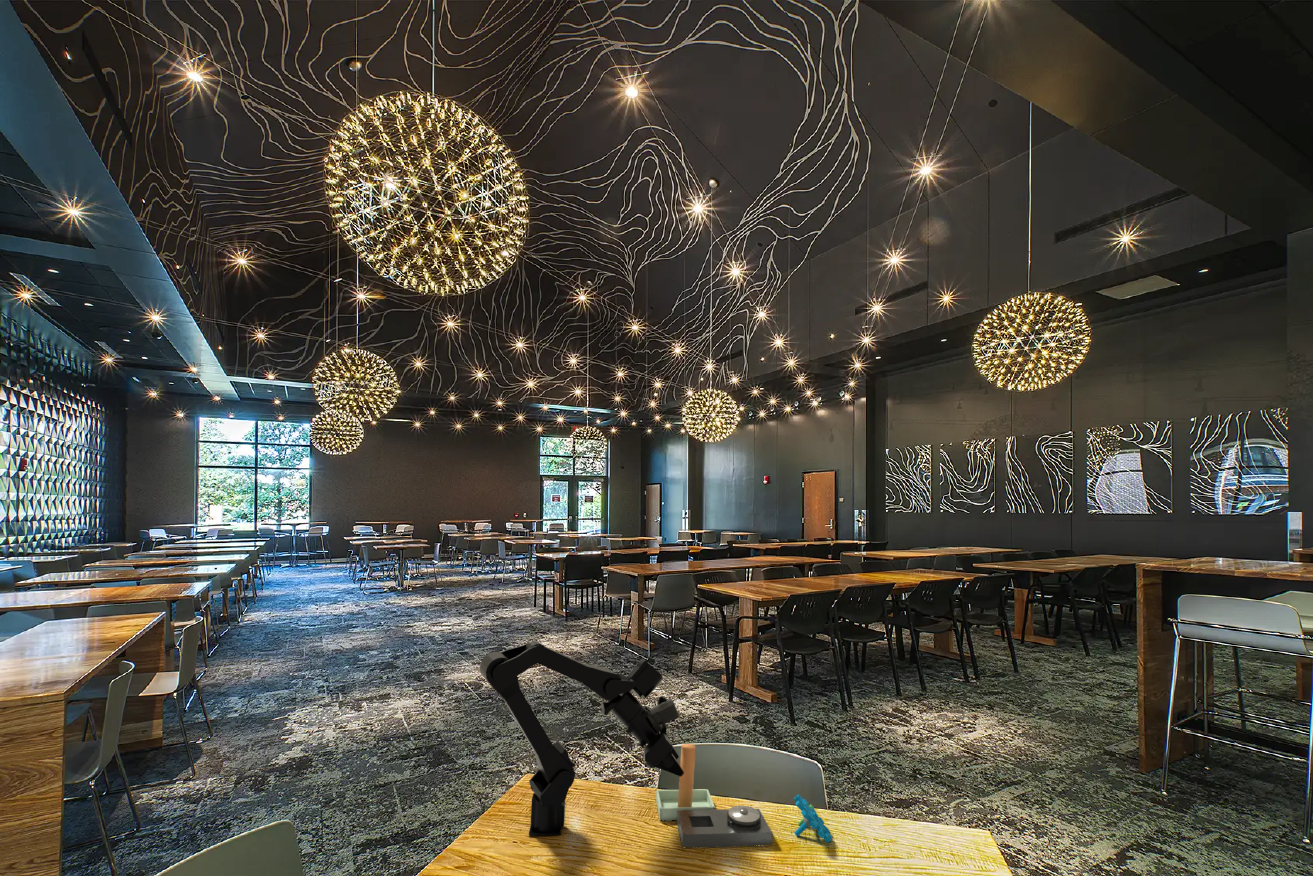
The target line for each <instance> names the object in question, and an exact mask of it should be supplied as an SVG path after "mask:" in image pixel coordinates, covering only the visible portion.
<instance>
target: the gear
mask: <svg viewBox="0 0 1313 876" xmlns="http://www.w3.org/2000/svg"><path fill="white" fill-rule="evenodd" d="M793 800H794V801H795V806H796V808H798V809H799V810H800V813H801V815H802V817H803V818H801V819H800V821H799V822H798V823H797V825H798V826H799V827H798V828H797V829H796V830H795V831H794V832H793V833H794V835H795V836H796V837H797V838H798V837H799V836H800V835H802V834H803V832H804V831H806V830H807V828H811V829H812V830H817V835H818V836H819V837H820V838H821V839H823V840H824V841H825V842H826V843H830V842H831V841H832V839H833V836H832V835H831V834H830V833H831V831H830V829H829V828H828V827H827V826H826V825H825V821H824V820H823V818H822V817H820V816H819V815H818V813H817V811H816V809H815V806H814V805H813V804H811V803H810V804H809V801H807V799H805V798H803V797H802V795H800V794H799V793H798V794H797V795H796V796H794V797H793Z"/></svg>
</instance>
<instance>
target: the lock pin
mask: <svg viewBox="0 0 1313 876" xmlns="http://www.w3.org/2000/svg"><path fill="white" fill-rule="evenodd" d="M680 747H681V749H680V763H679V765H680V767H681V768H682V770H683V771H684V774H683V775H682V776H681V777H680V776H678V777H679V780H678V790H679V792H678V807H692V797H693V789H694V781H695V780H694V778H695V763H696V748H697V747H696V746H695V745H694V744H692V743H691V744H690V743H683V744H682V745H681V746H680Z"/></svg>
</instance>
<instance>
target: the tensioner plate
mask: <svg viewBox="0 0 1313 876" xmlns="http://www.w3.org/2000/svg"><path fill="white" fill-rule="evenodd" d="M676 825H677V826H678V827H677V831H678V830H679V831H678V834H680V835H679V839H680V838H681V839H680V842H682V843H681V847H682V846H683V847H694V848H693V849H697V848H696V847H698V849H700V848H699V847H702V848H703V847H708V848H738V847H737V846H747V847H762V846H761V845H764V846H763V847H766V846H765V845H772V846H773V831H772V829H771V828H770V826H769V825H768V822H767V820H766V819H765V817H764V815H763V814H762V811H761V810H760V808H754V807H753V806H748V805H734V806H731V807H730V808H728V809H725V808H724V809H715V810H677V821H676ZM756 845H757V846H756ZM758 845H760V846H758ZM734 846H736V847H734ZM683 847H682V848H683Z"/></svg>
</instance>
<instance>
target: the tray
mask: <svg viewBox="0 0 1313 876" xmlns="http://www.w3.org/2000/svg"><path fill="white" fill-rule="evenodd" d="M655 792H656V794H655V801H656V802H655V804H656V803H657V804H656V808H658V809H657V813H659V814H658V818H660V819H659V821H660V820H662V821H661V822H673V821H672V820H677V810H716V807H715V804H714V801H713V798H712V796H711V794H710V791H709V789H707V788H703V789H702V788H701V789H697V788H696V789H694V788H693V797H692V807H678V792H679V789H656V791H655ZM664 820H665V821H664Z"/></svg>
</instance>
